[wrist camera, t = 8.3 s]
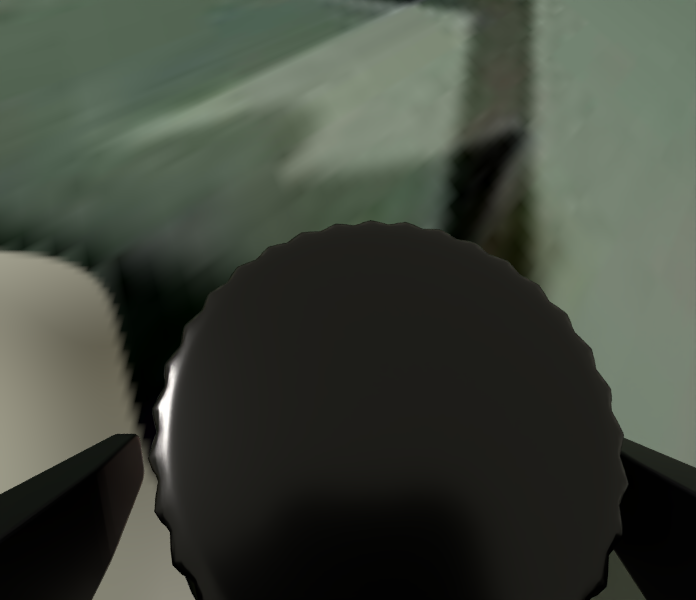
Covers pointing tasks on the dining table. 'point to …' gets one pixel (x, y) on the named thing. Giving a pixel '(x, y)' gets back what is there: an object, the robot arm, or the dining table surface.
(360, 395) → the supplement bottle
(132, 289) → the dining table surface
